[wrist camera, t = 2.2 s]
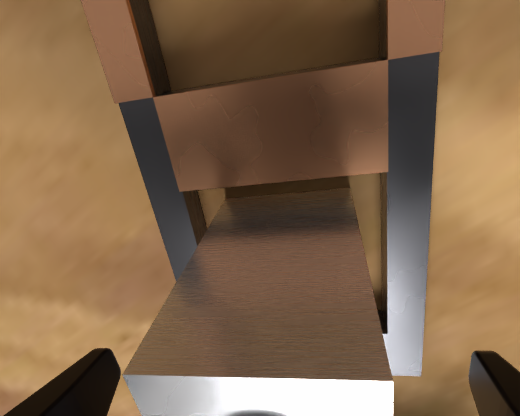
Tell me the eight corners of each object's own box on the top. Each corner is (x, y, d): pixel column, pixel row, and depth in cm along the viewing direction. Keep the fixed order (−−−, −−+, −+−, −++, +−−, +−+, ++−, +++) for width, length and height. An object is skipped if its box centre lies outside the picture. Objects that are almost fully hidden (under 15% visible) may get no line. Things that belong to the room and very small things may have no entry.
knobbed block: (246, 294, 14) (181, 525, 8) (225, 198, 13) (113, 390, 6) (355, 291, 14) (395, 552, 7) (350, 187, 12) (396, 400, 5)
